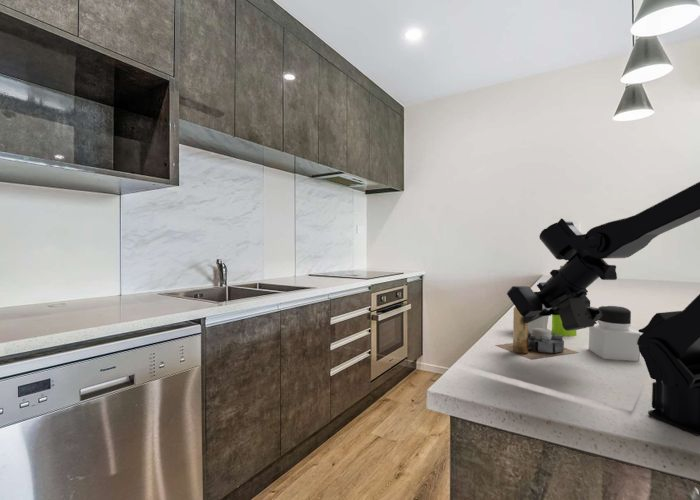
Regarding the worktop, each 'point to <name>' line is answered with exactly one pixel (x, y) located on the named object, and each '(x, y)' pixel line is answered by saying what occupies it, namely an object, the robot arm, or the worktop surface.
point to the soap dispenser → (560, 326)
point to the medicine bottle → (614, 335)
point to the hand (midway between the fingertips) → (525, 321)
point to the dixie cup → (538, 323)
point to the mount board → (535, 354)
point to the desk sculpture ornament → (533, 338)
